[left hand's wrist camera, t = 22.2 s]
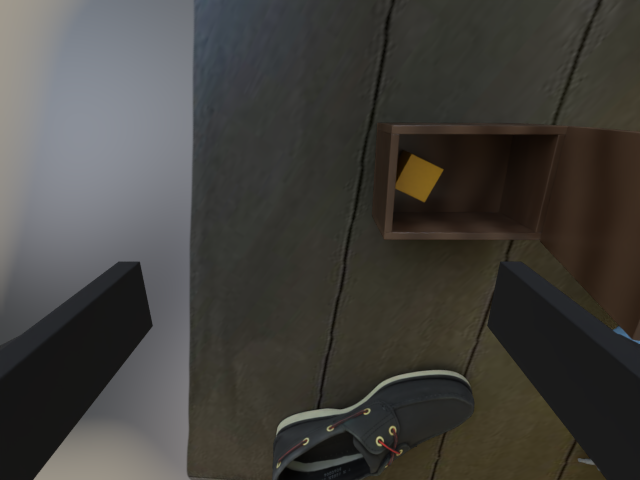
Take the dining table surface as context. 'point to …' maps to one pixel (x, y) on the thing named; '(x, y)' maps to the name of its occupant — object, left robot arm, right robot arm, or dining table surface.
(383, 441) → the boat shoe
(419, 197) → the block
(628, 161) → the lid
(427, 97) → the dining table surface
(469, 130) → the chest
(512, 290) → the left robot arm
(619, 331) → the right robot arm
